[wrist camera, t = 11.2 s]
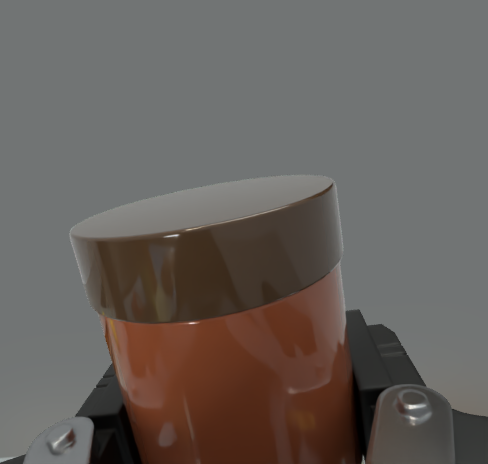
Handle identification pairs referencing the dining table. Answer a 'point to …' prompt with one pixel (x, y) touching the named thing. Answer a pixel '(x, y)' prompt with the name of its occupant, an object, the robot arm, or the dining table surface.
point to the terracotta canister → (228, 322)
